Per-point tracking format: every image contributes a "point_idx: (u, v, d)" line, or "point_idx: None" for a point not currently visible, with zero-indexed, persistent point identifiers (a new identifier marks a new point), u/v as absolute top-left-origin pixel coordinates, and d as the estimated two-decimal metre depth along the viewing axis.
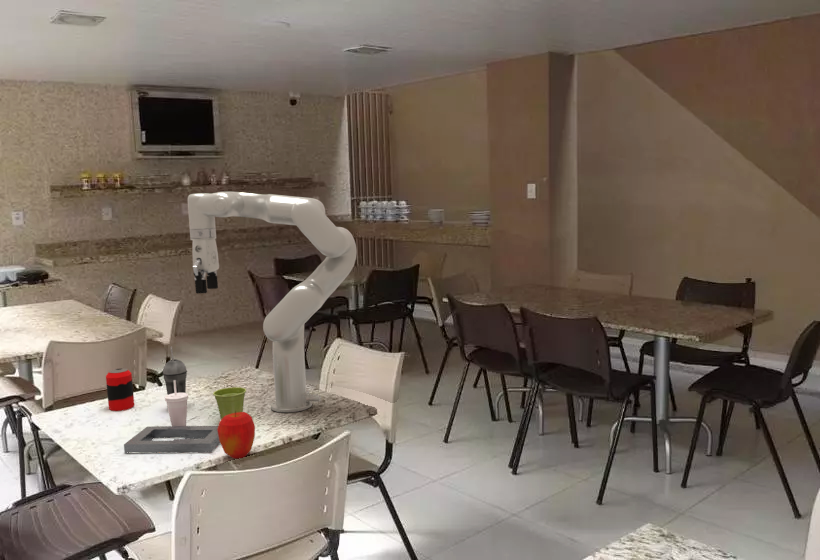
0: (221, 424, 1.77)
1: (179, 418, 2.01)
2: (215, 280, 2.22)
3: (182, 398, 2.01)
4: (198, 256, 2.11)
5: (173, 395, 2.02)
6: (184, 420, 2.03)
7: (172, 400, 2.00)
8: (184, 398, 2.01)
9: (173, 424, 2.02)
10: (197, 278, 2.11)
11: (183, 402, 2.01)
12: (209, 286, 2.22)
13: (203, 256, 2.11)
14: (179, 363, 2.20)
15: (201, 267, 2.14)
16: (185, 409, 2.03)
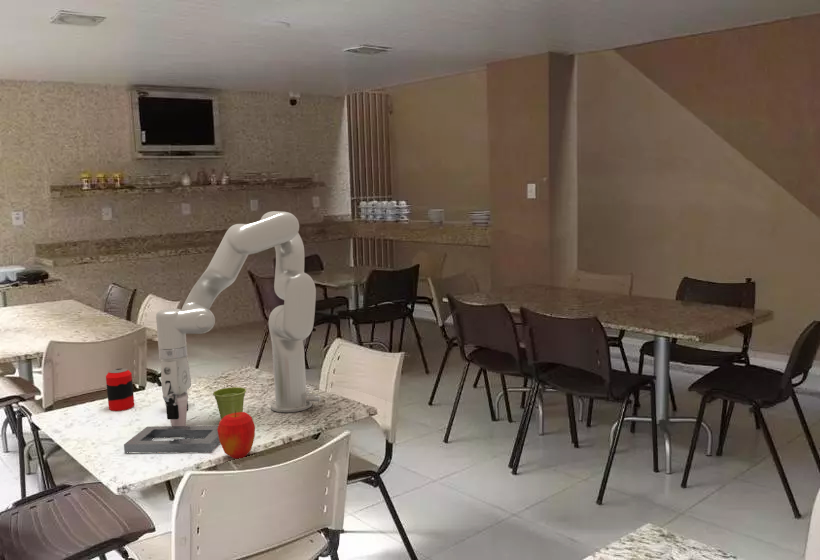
0: (221, 424, 1.77)
1: (179, 418, 2.01)
2: None
3: (182, 398, 2.01)
4: (167, 379, 1.97)
5: None
6: (184, 420, 2.03)
7: None
8: (184, 398, 2.01)
9: (173, 424, 2.02)
10: (168, 404, 1.98)
11: (183, 402, 2.01)
12: None
13: (172, 379, 1.97)
14: None
15: (171, 390, 2.00)
16: (185, 409, 2.03)
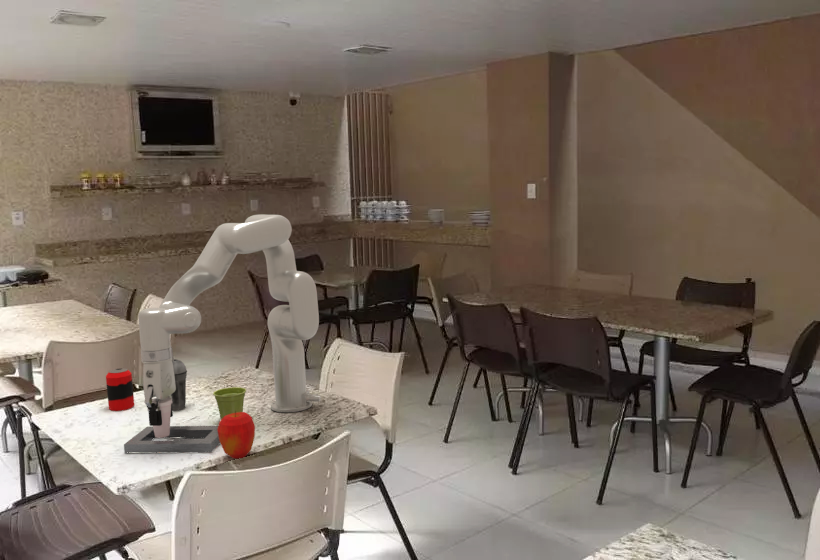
0: (221, 424, 1.77)
1: (162, 424, 1.89)
2: None
3: (165, 403, 1.88)
4: (149, 382, 1.85)
5: None
6: (167, 426, 1.90)
7: None
8: (167, 403, 1.89)
9: (156, 431, 1.90)
10: (150, 409, 1.86)
11: (166, 407, 1.89)
12: None
13: (155, 382, 1.85)
14: (179, 363, 2.20)
15: (154, 394, 1.87)
16: (168, 415, 1.90)
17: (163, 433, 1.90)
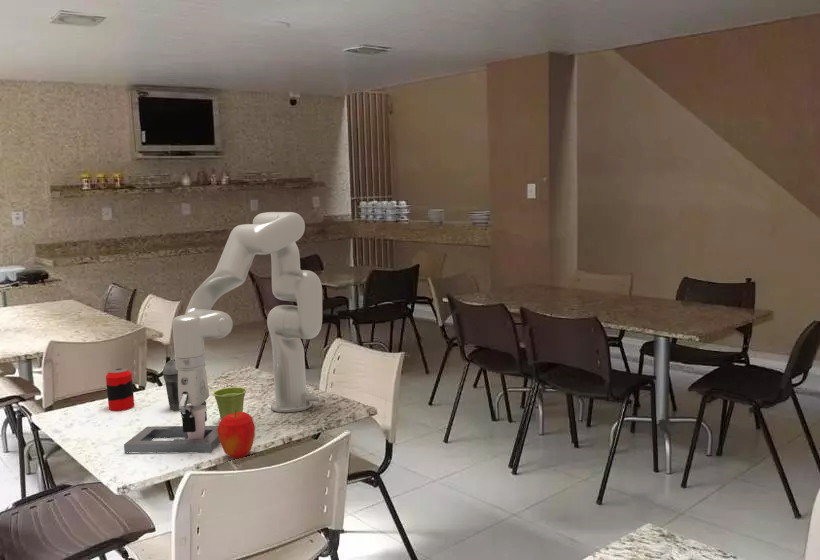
0: (221, 424, 1.77)
1: (197, 432, 1.89)
2: None
3: (200, 411, 1.88)
4: (184, 389, 1.84)
5: None
6: (202, 434, 1.90)
7: None
8: (202, 411, 1.89)
9: (190, 438, 1.89)
10: (184, 416, 1.85)
11: (201, 415, 1.89)
12: None
13: (190, 389, 1.84)
14: None
15: (188, 401, 1.87)
16: (203, 422, 1.90)
17: None
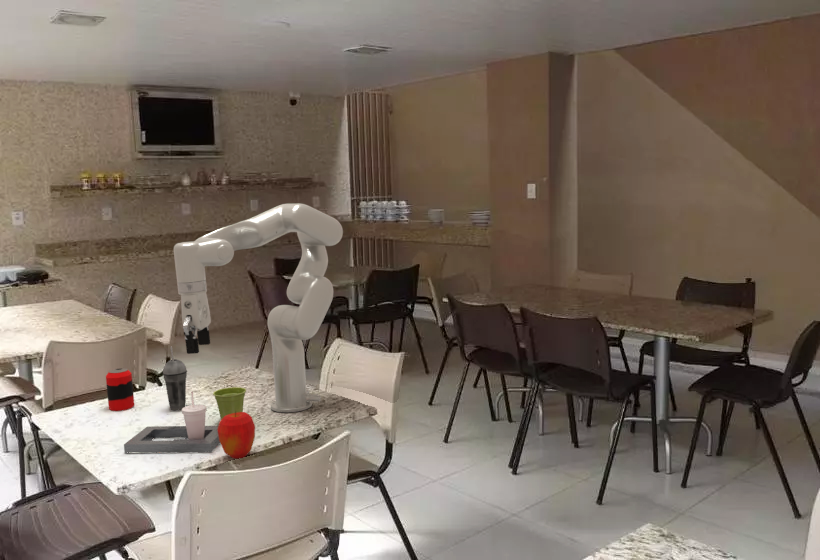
0: (221, 424, 1.77)
1: (197, 432, 1.89)
2: (207, 335, 2.01)
3: (200, 411, 1.88)
4: (188, 313, 1.90)
5: (190, 407, 1.90)
6: (202, 434, 1.90)
7: (189, 413, 1.87)
8: (202, 411, 1.89)
9: (190, 438, 1.89)
10: (188, 337, 1.90)
11: (201, 415, 1.89)
12: (200, 342, 2.01)
13: (194, 313, 1.90)
14: (179, 363, 2.20)
15: (191, 324, 1.93)
16: (203, 422, 1.90)
17: None
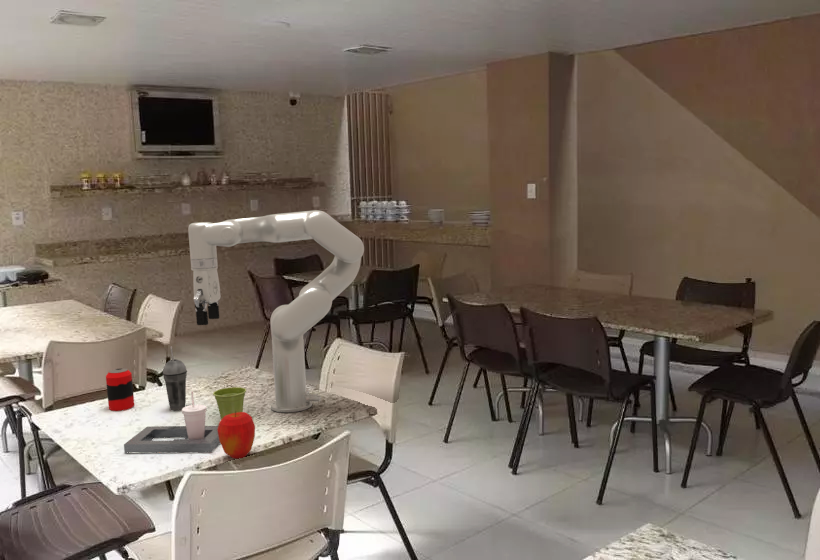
0: (221, 424, 1.77)
1: (197, 432, 1.89)
2: (216, 310, 2.17)
3: (200, 411, 1.88)
4: (199, 287, 2.06)
5: (190, 407, 1.90)
6: (202, 434, 1.90)
7: (190, 413, 1.87)
8: (202, 411, 1.89)
9: (190, 438, 1.89)
10: (198, 310, 2.06)
11: (201, 415, 1.89)
12: (210, 316, 2.17)
13: (204, 287, 2.06)
14: (179, 363, 2.20)
15: (202, 298, 2.09)
16: (203, 422, 1.90)
17: None
